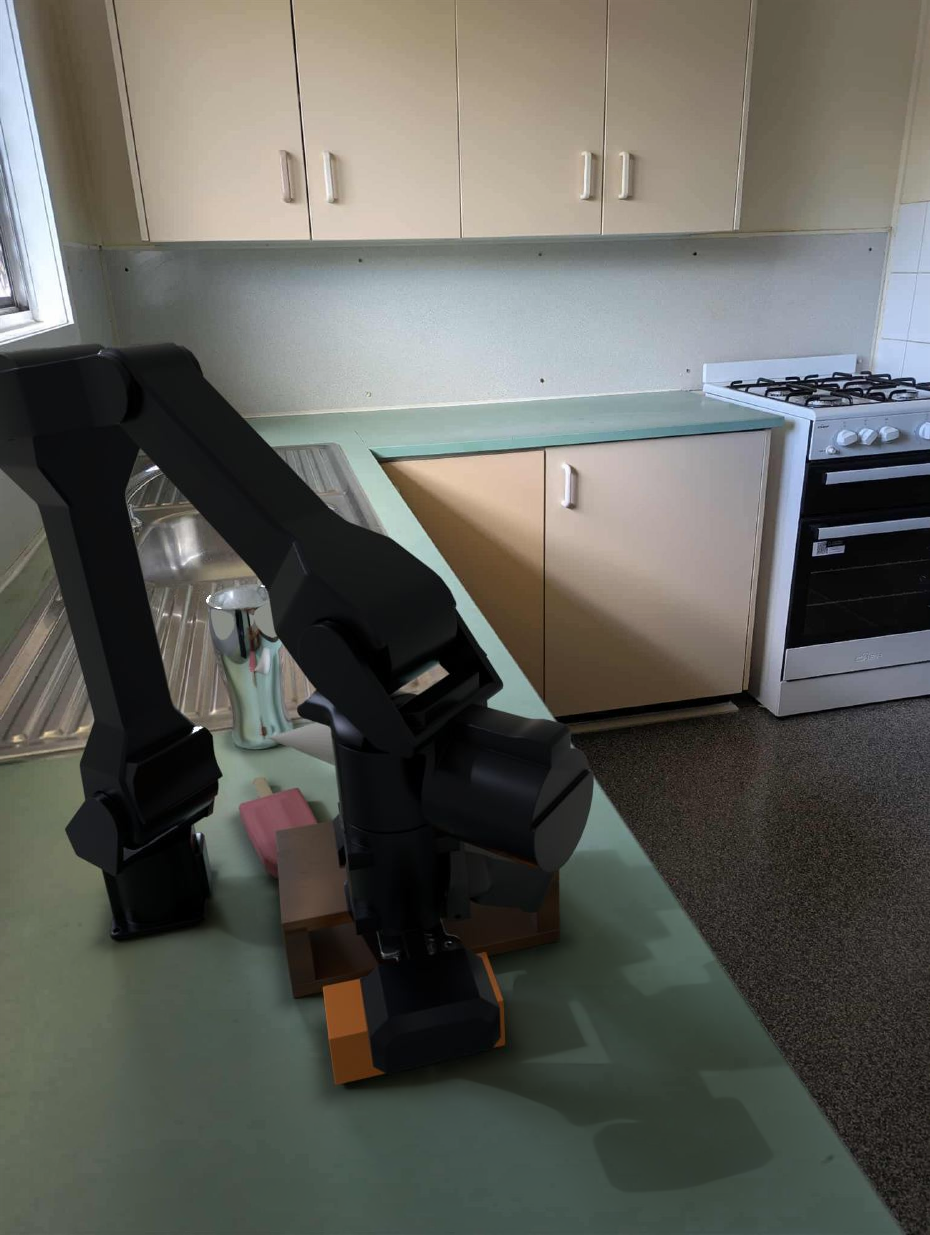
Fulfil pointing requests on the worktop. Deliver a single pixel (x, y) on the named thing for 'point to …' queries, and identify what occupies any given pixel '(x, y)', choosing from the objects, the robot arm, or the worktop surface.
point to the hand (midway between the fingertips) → (415, 1024)
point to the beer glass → (250, 663)
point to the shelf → (328, 934)
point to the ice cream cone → (309, 741)
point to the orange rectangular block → (352, 1033)
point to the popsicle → (273, 819)
